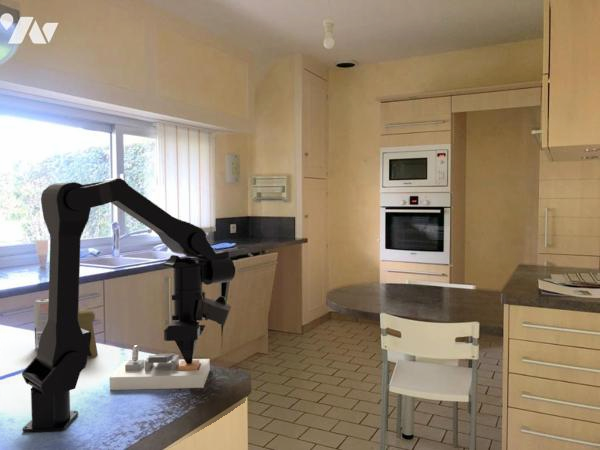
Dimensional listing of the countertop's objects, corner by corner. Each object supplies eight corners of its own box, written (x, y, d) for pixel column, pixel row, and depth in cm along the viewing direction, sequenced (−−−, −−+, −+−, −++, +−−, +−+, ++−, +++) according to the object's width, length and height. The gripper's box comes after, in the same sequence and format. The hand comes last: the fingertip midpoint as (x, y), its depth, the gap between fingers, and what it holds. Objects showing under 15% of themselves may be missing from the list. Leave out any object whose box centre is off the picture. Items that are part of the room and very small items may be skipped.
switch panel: (203, 387, 97) (203, 365, 97) (109, 390, 96) (109, 367, 96) (209, 370, 107) (209, 349, 107) (125, 372, 106) (124, 351, 106)
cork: (102, 352, 120) (101, 307, 120) (89, 360, 114) (88, 313, 114) (78, 351, 121) (77, 307, 120) (64, 359, 115) (63, 312, 114)
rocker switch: (166, 362, 98) (166, 356, 98) (148, 363, 97) (148, 356, 98) (174, 358, 105) (174, 352, 106) (157, 358, 105) (157, 353, 105)
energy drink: (50, 342, 128) (49, 296, 128) (63, 345, 126) (62, 299, 125) (30, 348, 124) (29, 300, 123) (43, 351, 121) (41, 302, 120)
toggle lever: (137, 361, 101) (138, 345, 102) (131, 361, 101) (132, 345, 102) (138, 361, 102) (139, 345, 103) (132, 361, 102) (133, 345, 103)
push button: (197, 380, 100) (196, 365, 100) (179, 380, 100) (178, 366, 100) (199, 374, 104) (199, 360, 104) (182, 374, 104) (182, 360, 104)
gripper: (223, 296, 92) (224, 378, 93) (231, 279, 111) (232, 348, 112) (162, 296, 92) (164, 379, 92) (181, 280, 110) (182, 349, 111)
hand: (189, 363), depth 102 cm, fingers closed, pressing on push button
